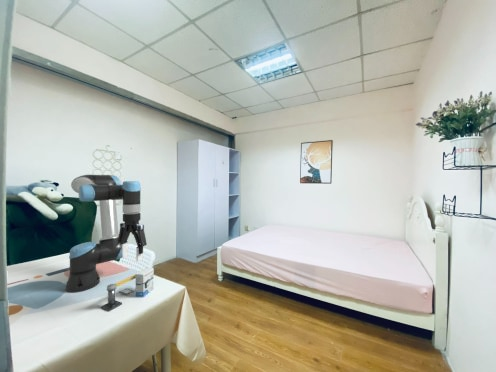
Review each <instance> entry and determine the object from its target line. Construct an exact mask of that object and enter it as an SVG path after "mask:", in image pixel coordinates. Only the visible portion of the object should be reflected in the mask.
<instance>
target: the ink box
mask: <svg viewBox="0 0 496 372" xmlns="http://www.w3.org/2000/svg"><path fill="white" fill-rule="evenodd" d="M154 269H155V268H153V267H148V266H147V267H144V268H142V269H141V270H139V271H138V272H136V273H135V274H136V278H135V297H140V298H141V297H142V298H144V297H146V295H147V296H148V294H150V293H151V292H152V291H153V290H154V289H155V287H154V283H155V282H154V281H155V280H154V274H155V273H154V272H155V271H154Z"/></svg>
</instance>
